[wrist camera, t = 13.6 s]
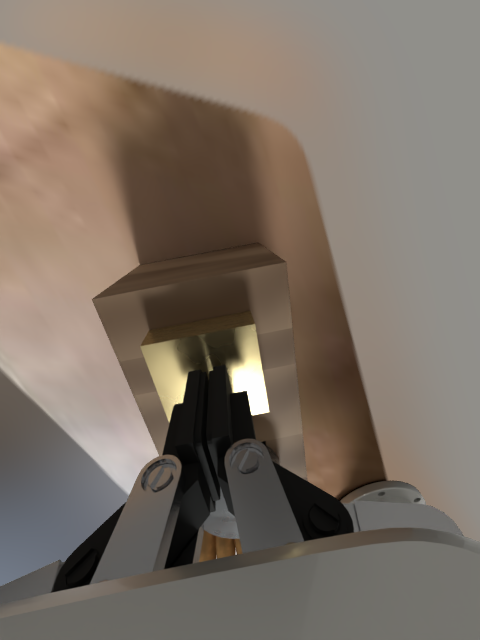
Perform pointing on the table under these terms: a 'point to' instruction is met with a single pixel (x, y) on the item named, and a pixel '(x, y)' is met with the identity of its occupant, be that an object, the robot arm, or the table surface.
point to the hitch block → (204, 303)
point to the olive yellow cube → (206, 357)
